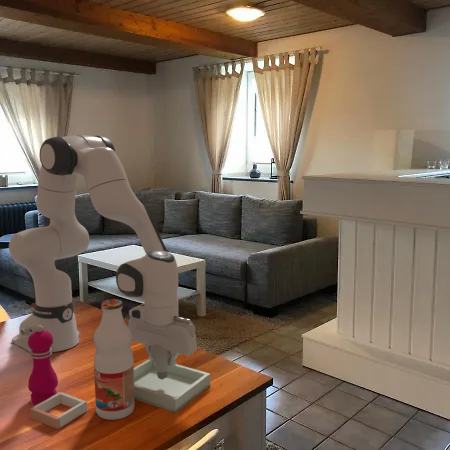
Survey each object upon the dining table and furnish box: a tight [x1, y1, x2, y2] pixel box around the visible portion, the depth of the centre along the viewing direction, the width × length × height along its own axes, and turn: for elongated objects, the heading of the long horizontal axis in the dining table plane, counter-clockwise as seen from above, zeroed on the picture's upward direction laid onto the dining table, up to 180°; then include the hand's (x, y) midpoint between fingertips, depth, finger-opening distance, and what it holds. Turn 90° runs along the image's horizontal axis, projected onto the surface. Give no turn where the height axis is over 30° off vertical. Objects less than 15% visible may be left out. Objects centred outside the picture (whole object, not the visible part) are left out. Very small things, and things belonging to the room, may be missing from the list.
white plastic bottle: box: [93, 298, 136, 421], centre depth 120 cm, size 9×9×28 cm
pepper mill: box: [27, 325, 59, 406], centre depth 126 cm, size 7×7×20 cm
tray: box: [134, 358, 211, 414], centre depth 133 cm, size 20×16×4 cm
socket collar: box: [29, 391, 88, 430], centre depth 120 cm, size 9×9×2 cm
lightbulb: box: [150, 344, 172, 380], centre depth 132 cm, size 6×6×11 cm
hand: (162, 362), depth 132 cm, fingers closed on lightbulb, 5 cm apart
